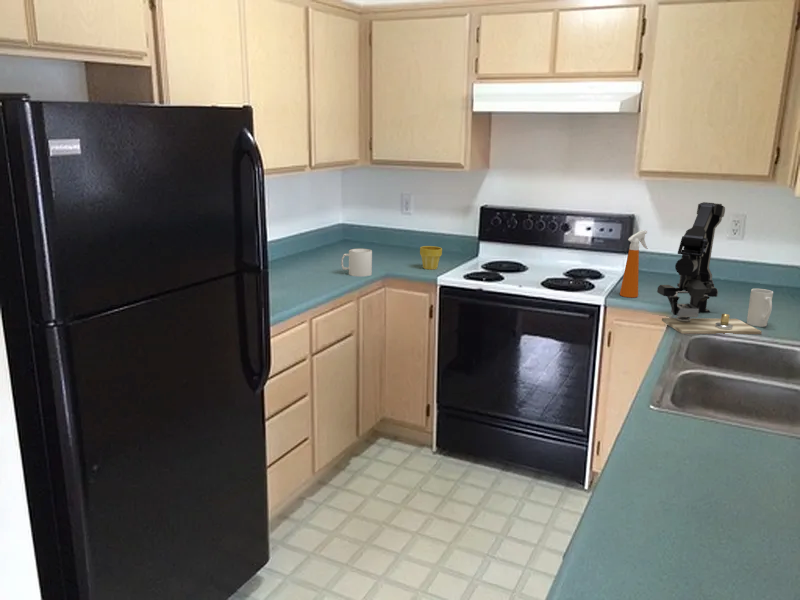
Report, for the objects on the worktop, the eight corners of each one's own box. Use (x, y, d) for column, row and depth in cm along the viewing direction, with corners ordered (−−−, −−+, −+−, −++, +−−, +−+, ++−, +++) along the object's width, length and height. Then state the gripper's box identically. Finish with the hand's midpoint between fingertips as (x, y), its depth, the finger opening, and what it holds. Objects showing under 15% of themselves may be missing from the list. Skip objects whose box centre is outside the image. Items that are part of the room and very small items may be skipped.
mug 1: (341, 276, 288) (341, 252, 285) (341, 271, 298) (341, 248, 295) (372, 276, 289) (372, 252, 286) (371, 271, 299) (371, 248, 296)
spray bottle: (648, 296, 265) (656, 231, 259) (628, 298, 261) (636, 232, 254) (635, 292, 271) (642, 228, 265) (615, 294, 267) (622, 230, 260)
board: (661, 320, 230) (662, 318, 230) (736, 321, 231) (736, 318, 231) (681, 333, 215) (681, 330, 215) (761, 334, 217) (761, 331, 217)
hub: (712, 325, 222) (714, 312, 221) (727, 325, 223) (729, 312, 222) (720, 329, 217) (722, 316, 216) (735, 329, 218) (737, 316, 217)
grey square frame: (671, 311, 230) (672, 303, 229) (688, 312, 230) (690, 303, 229) (679, 317, 223) (680, 308, 223) (697, 317, 224) (699, 308, 223)
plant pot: (445, 267, 311) (446, 247, 309) (434, 271, 303) (435, 250, 300) (426, 265, 316) (427, 245, 314) (415, 268, 308) (415, 247, 306)
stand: (674, 318, 229) (676, 303, 228) (686, 318, 229) (688, 303, 228) (680, 322, 225) (682, 306, 224) (692, 322, 225) (694, 306, 224)
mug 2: (741, 321, 232) (747, 288, 229) (760, 321, 232) (766, 288, 229) (757, 329, 222) (763, 295, 219) (777, 330, 222) (783, 295, 219)
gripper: (674, 275, 214) (668, 321, 218) (729, 276, 215) (722, 321, 219) (659, 268, 225) (653, 312, 229) (712, 269, 226) (706, 312, 230)
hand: (684, 314), depth 227 cm, fingers closed on grey square frame, 6 cm apart
